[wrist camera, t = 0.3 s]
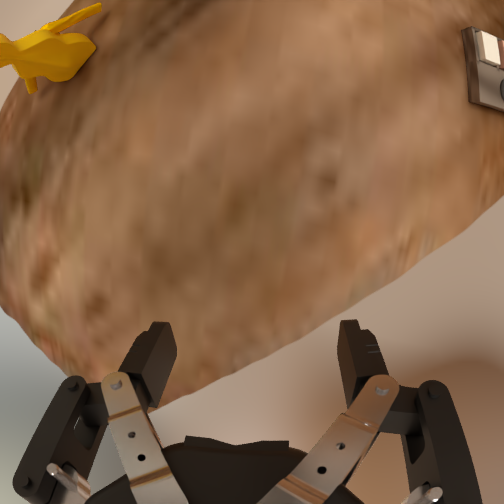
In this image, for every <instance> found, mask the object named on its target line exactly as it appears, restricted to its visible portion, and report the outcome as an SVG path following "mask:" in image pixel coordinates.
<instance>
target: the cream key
mask: <svg viewBox="0 0 504 504" xmlns="http://www.w3.org/2000/svg"><path fill="white" fill-rule="evenodd" d="M475 35H476V41H477V48H478V55H479V61H480V62H483V63H485V64H488V65H491V66H496V65H501V64H500V56H499V49H498V43H497V37H494V36H492V35H490V34H488V33H485V32H483V31H479V32H476V33H475Z"/></svg>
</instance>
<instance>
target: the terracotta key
mask: <svg viewBox="0 0 504 504" xmlns="http://www.w3.org/2000/svg"><path fill="white" fill-rule="evenodd" d="M497 43H498V49H499V56H500V64H501V65H499V69H501V70H503V71H504V41H503V40H501V41H497Z"/></svg>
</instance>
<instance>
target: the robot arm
mask: <svg viewBox="0 0 504 504" xmlns="http://www.w3.org/2000/svg"><path fill="white" fill-rule="evenodd" d="M337 355H338V361H339V366H340V371H341V376H342V382H343V387H344V393H345V398H346V404H347V409H348V410H347V412H346V413H344V414H343V413H342V414H340V415H339V416H338V418H337V419H336V420H335V421H334V423H333V424H332V425H331V427H330V428H329V429H328V430H327V432H326V433H325V434H324V435H323V436H322V438H321V439H320V440H319V441H318V443H317V444H316V445H315V446H314V447H313V448H312V450H311V451H310V452H309V453H306V452H303V451H301V450H299V449H295V448H291V447H289V441H259V442H254V443H248V444H242V445H231V444H228V443H224V442H221V441H218V440H214V439H211V438H202V437H193V436H186V437H185V441H184V442H182V443H177V444H173V445H170V446H167V447H165V448H164V446H163V444H162V443H161V441H160V439H159V437H158V435H157V433H156V431H155V428H154V426H153V424H152V422H151V420H150V418H149V416H148V414H147V410H148V407H154V408H157V407H158V404H159V402H160V399H161V396H162V394H163V391H164V388H165V386H166V383H167V380H168V378H169V375H170V372H171V370H172V367H173V365H174V362H175V360H176V356H177V346H176V343H175V339H174V336H173V332H172V329H171V325H170V323H169V322H153V323H152V325H151V326H150V328H149V330H148V331H144V332H142V333H141V334H140V335H139V336H138V337H137V338H136V339H135V341H134V343H133V346H131V348H130V350H129V352H128V354H127V355H126V357H125V359H124V361H123V362H122V364H121V366H120V368H119V370H118V372H113V373H110V374H108V375H107V376H105V377H104V379H103V380H102V382H99V383H88V384H87V383H86V381H85V380H84V378H83V377H81V376H71V377H68V378H67V379H65V380H64V381H63V382H62V384H61V386H60V387H59V389H58V391H57V392H56V394H55V396H54V398H53V400H52V401H51V403H50V405H49V407H48V409H47V410H46V412H45V414H44V416H43V418H42V420H41V422H40V423H39V425H38V427H37V429H36V431H35V433H34V435H33V437H32V439H31V441H30V443H29V445H28V447H27V449H26V451H25V453H24V455H23V457H22V459H21V461H20V464H19V466H18V468H17V470H16V472H15V475H14V477H13V488H14V490H15V491H16V493H17V494H19V495H20V496H21V497H23V498H24V499H25V500H27V501H28V502H29V503H30V504H364V503H363V502H362V501H361V500H360V499H359V498H357V497H356V496H355V495H354V494H353V493H352V492H351V491H350V490H348V489H347V488H346V487H345V486H346V485H347V484H348V482H349V481H350V480H351V478H352V477H353V475H354V474H355V472H356V471H357V469H358V468H359V466H360V464H361V463H362V461H363V460H364V458H365V457H366V455H367V453H368V452H369V450H370V449H371V447H372V446H373V444H374V443H375V441H376V439H377V437H378V436H379V434H380V433H381V432H386V433H394V434H400V435H401V440H402V445H403V451H404V456H405V462H406V469H407V475H408V482H409V489H410V494H409V495H408V496H407V497H406V498H405V499H404V500H403V501H402V502H401V503H400V504H482V499H481V494H480V489H479V485H478V481H477V477H476V473H475V469H474V466H473V462H472V458H471V455H470V451H469V448H468V445H467V442H466V439H465V435H464V432H463V429H462V426H461V423H460V420H459V417H458V414H457V412H456V409H455V406H454V403H453V401H452V398H451V395H450V393H449V390H448V388H447V387H446V386H445V385H444V384H443V383H441V382H439V381H436V380H429V381H426V382H424V383H422V384H421V386H420V387H419V388H411V387H404V386H401V385H399V384H398V382H397V381H396V380H395V379H394V378H392V377H390V376H389V374H388V371H387V368H386V365H385V362H384V359H383V356H382V354H381V352H380V348H379V346H378V343H377V340H376V337H375V336H374V335H373V334H372V333H371V332H370V331H369V330H368V329H366V330H361V329H360V326H359V323H358V321H357V320H356V319H355V320H341V322H340V330H339V337H338V345H337ZM78 418H79V420H78ZM77 420H78V422H77ZM76 422H77V424H76ZM75 424H76V426H75ZM107 425H109V426H110V429H111V433H112V435H113V438H114V441H115V444H116V447H117V450H118V452H119V455H120V458H121V461H122V463H123V466H124V468H125V471H126V474H125V475H123V476H122V477H120V478H119V479H117V480H116V481H114V482H112V483H111V484H109V485H108V486H106V487H105V488H103V489H101V490H100V491H98V492H96V493H95V494H93V495H92V496H91V494H90V490H91V488H90V484H89V483H88V481H87V479H88V476H89V473H90V470H91V467H92V465H93V462H94V459H95V456H96V454H97V451H98V448H99V445H100V443H101V440H102V438H103V435H104V432H105V430H106V427H107ZM74 426H75V429H74Z"/></svg>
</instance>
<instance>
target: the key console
mask: <svg viewBox="0 0 504 504" xmlns="http://www.w3.org/2000/svg"><path fill="white" fill-rule="evenodd" d="M479 31H482V30H480V29H477V28H475V27H472V26H471V27H468V28H466V29H463V30H462V36H463V42H464V49H465V57H466V67H467V78H468V93H469V102H472V103H476V104H479V105H483V106H486V107H489V108H493V109H496V110H499V111H502V112H504V71H503V70H501V69H499V65H496V66H491V65H488V64H485V63H483V62H480V61H479V55H478V48H477V41H476V35H475V33H476V32H479ZM483 32H484V31H483ZM485 33H487V32H485ZM488 34H489V33H488ZM490 35H491V34H490ZM492 36H493V35H492ZM494 37H496V36H494ZM501 40H502V39H500V38H498V37H497V41H501ZM503 41H504V40H503Z"/></svg>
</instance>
